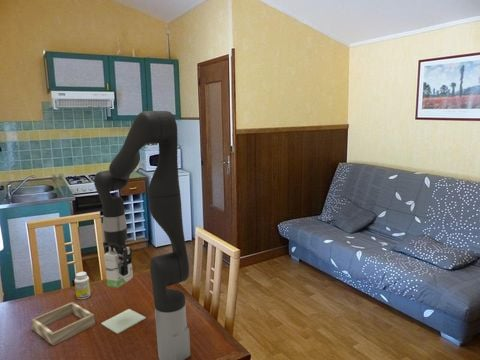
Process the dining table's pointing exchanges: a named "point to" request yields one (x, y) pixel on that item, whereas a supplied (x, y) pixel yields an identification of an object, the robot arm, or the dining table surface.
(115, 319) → the sage mat
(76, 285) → the supplement bottle
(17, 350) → the dining table surface
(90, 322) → the frame
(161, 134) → the robot arm
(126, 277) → the ink box
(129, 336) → the dining table surface
